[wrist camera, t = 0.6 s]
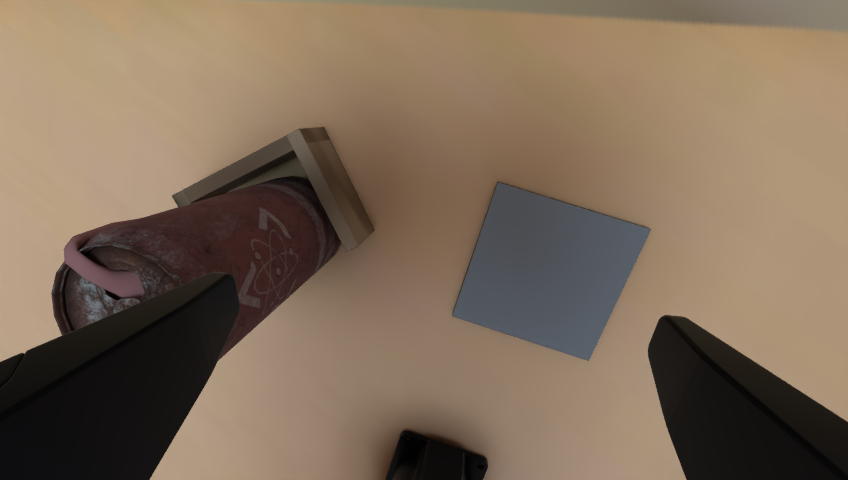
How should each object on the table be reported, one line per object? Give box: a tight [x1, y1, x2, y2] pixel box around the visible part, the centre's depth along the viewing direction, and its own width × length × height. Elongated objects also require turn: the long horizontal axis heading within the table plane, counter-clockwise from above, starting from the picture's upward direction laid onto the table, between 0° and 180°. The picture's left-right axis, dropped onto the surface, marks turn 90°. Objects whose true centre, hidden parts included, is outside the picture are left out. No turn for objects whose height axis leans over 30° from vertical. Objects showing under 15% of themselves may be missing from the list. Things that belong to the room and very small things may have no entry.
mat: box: [452, 182, 651, 361], centre depth 26 cm, size 9×9×1 cm
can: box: [52, 176, 341, 360], centre depth 21 cm, size 6×6×14 cm
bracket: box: [172, 127, 374, 251], centre depth 26 cm, size 7×9×4 cm
